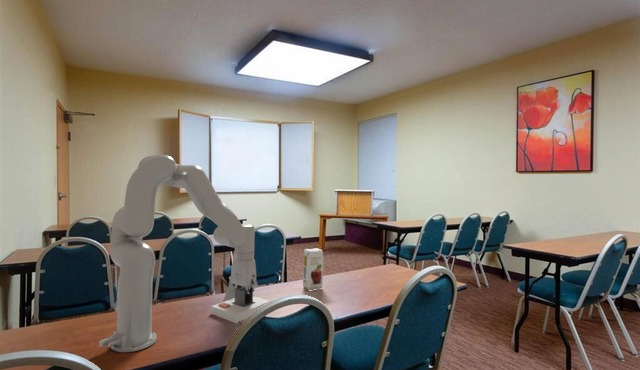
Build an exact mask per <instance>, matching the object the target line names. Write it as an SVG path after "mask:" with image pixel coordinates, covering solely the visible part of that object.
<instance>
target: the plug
mask: <svg viewBox="0 0 640 370" xmlns="http://www.w3.org/2000/svg"><path fill="white" fill-rule="evenodd" d="M249 289H250V287H249ZM245 294H247V293H246V287H243V286H242V287H239V288H236V289H235V303H234V304H236V305H239V306H242V307H244V306H247V305H249V304H252V303H253V296H254V292H253V293H252V302H251V303H249V304H245Z"/></svg>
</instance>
